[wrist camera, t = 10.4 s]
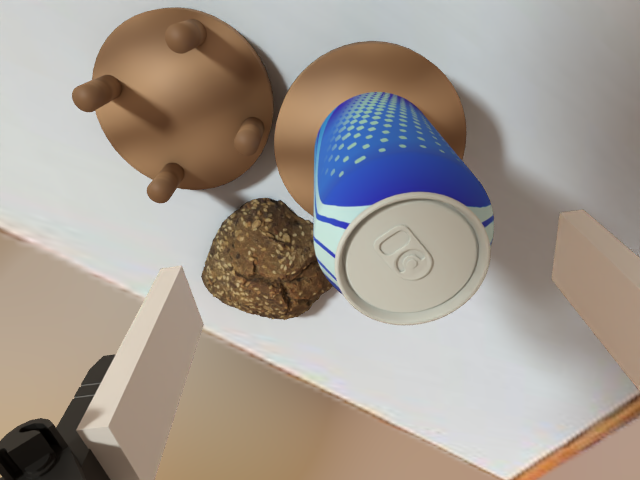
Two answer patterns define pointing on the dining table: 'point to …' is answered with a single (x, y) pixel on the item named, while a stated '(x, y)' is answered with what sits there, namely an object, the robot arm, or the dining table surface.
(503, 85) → the dining table surface
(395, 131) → the beer can
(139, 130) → the upturned footstool
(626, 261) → the robot arm
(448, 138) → the footstool
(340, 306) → the dining table surface
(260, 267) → the bread roll
